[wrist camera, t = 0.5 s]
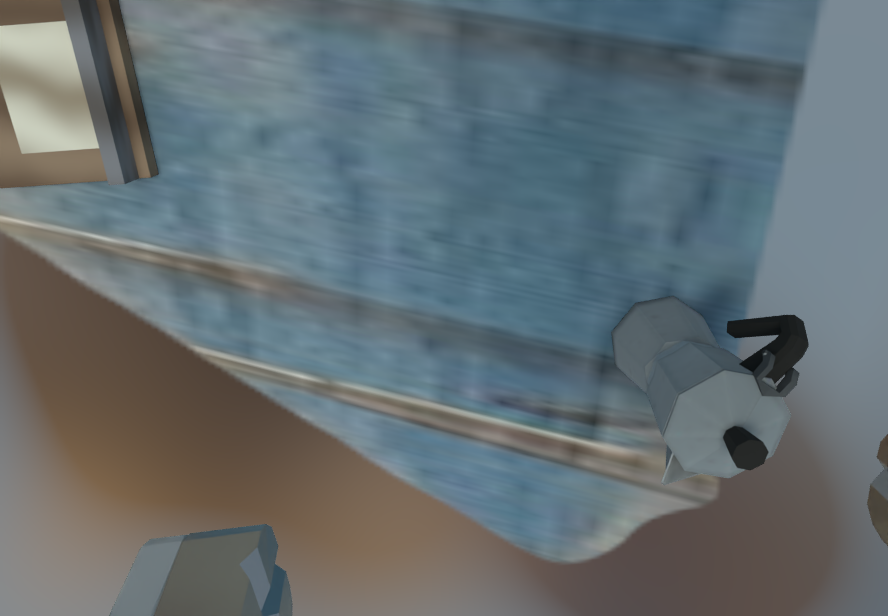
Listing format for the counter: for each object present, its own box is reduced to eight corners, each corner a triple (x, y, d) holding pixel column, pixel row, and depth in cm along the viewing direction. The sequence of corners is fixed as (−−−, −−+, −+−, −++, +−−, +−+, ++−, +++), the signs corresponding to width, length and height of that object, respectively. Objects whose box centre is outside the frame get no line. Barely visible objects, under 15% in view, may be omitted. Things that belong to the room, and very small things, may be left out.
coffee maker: (649, 415, 60) (732, 552, 43) (576, 369, 58) (633, 494, 41) (760, 291, 55) (901, 390, 38) (684, 237, 53) (798, 317, 37)
